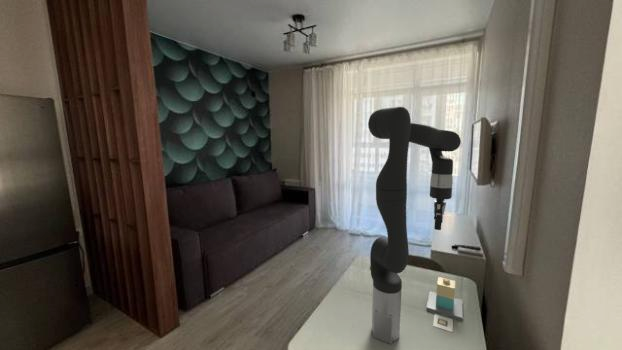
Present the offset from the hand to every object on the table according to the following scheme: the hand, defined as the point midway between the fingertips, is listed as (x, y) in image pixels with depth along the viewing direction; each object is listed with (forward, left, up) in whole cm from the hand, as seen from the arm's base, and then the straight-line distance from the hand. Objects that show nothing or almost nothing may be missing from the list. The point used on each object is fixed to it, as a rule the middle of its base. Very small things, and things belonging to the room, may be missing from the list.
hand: (438, 226), depth 98 cm
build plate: (-1, -4, -32) cm, 32 cm away
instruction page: (-12, -4, -32) cm, 34 cm away
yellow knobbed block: (-1, -4, -26) cm, 27 cm away
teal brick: (-1, -4, -31) cm, 31 cm away
